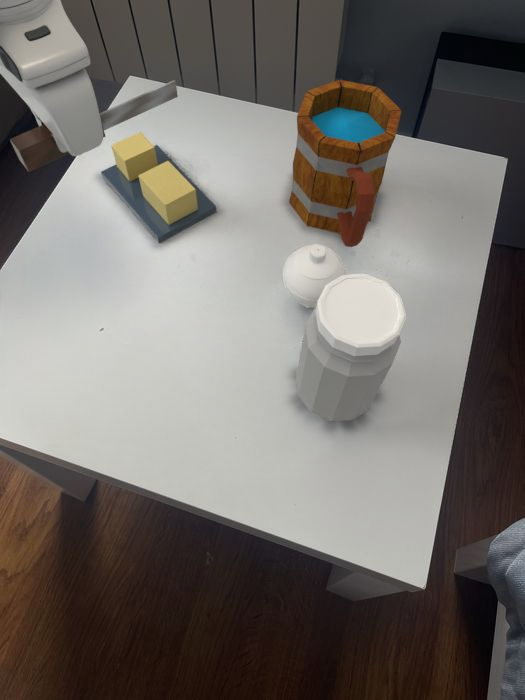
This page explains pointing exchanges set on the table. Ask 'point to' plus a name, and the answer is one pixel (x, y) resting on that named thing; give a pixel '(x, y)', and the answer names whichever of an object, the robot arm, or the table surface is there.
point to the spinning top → (311, 273)
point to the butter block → (168, 192)
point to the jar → (349, 346)
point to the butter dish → (145, 211)
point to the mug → (341, 156)
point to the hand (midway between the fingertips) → (57, 138)
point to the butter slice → (134, 156)
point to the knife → (40, 146)
